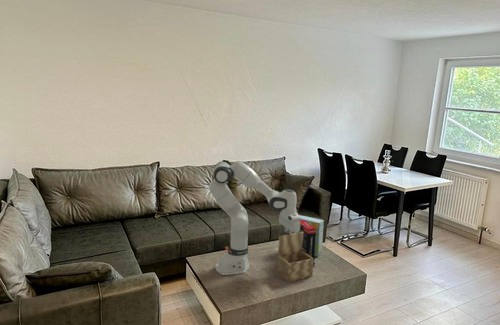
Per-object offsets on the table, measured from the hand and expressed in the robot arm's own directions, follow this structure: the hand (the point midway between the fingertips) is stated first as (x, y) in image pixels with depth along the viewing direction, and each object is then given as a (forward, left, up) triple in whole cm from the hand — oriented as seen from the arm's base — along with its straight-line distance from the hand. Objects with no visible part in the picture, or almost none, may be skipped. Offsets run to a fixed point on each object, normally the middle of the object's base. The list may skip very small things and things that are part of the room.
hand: (288, 234), depth 229 cm
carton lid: (0, -4, -5) cm, 6 cm away
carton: (0, -10, -23) cm, 25 cm away
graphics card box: (+16, +2, -24) cm, 28 cm away
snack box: (+26, +14, -24) cm, 38 cm away
